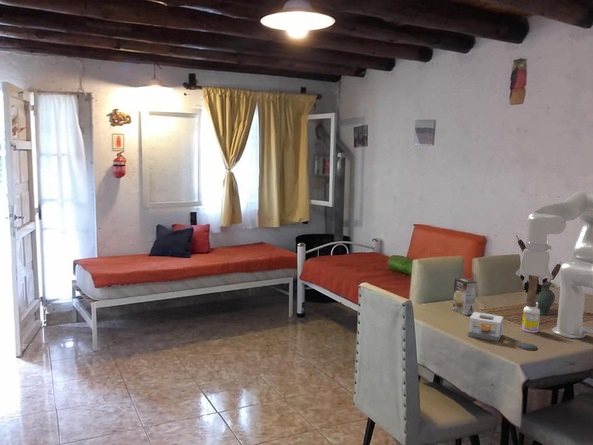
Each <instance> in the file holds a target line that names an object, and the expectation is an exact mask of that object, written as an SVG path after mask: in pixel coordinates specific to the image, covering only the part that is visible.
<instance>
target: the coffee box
mask: <svg viewBox="0 0 593 445" xmlns="http://www.w3.org/2000/svg"><path fill="white" fill-rule="evenodd" d="M453 285H454V286H453V297H452V299H453V300H452V310H453V311H455V312H456V313H458V314H462V315H464V316H465V315H466V316H468V315H472V314H473V313H474V312H475V304H476V303H475V302H476V293H477V292H476V290H477V281H475V280H473V279H470V278H467V277H457V278H454V284H453Z"/></svg>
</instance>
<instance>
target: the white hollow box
mask: <svg viewBox="0 0 593 445" xmlns="http://www.w3.org/2000/svg"><path fill="white" fill-rule="evenodd" d="M477 322H478V323H482V324H488V325H496V328H492V327H491V331H489V332H486V331H482V330H481V325H480V326H479V325H477ZM503 324H504V316H501V315H496V314H489V313H484V312H483V313H482V312H477V311H474V313H473V314H470V317H469V323H468V335H467V336H468V337H471V338H476V339H482V340H487V341H492V342H499V341H500V339H501V337H502V335H503Z"/></svg>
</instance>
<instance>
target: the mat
mask: <svg viewBox="0 0 593 445" xmlns="http://www.w3.org/2000/svg"><path fill="white" fill-rule="evenodd" d="M517 347H518V348H520V349H522V350H526V351H537V350H538V346H537V345H534V344H531V343H528V342H522V343H521V342H520V343H518V344H517Z"/></svg>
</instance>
